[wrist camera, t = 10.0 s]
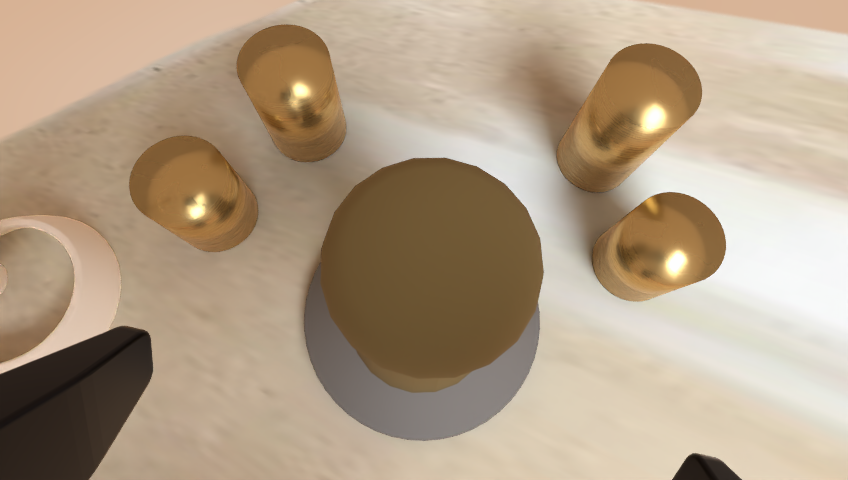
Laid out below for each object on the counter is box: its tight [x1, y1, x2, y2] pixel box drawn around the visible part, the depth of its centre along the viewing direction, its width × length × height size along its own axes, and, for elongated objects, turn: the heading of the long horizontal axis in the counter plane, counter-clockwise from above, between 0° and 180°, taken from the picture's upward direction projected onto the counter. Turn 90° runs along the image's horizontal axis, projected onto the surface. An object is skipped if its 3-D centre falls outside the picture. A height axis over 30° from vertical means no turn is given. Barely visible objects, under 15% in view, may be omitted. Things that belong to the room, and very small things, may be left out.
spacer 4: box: [592, 192, 726, 301], centre depth 20 cm, size 4×4×4 cm
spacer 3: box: [557, 43, 702, 192], centre depth 20 cm, size 4×4×6 cm
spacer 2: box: [237, 25, 346, 162], centre depth 21 cm, size 4×4×5 cm
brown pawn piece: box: [320, 158, 544, 393], centre depth 15 cm, size 6×6×11 cm
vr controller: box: [0, 215, 121, 374], centre depth 18 cm, size 8×12×7 cm
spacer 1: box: [129, 136, 258, 252], centre depth 20 cm, size 4×4×4 cm
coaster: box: [304, 263, 540, 441], centre depth 21 cm, size 10×10×1 cm
